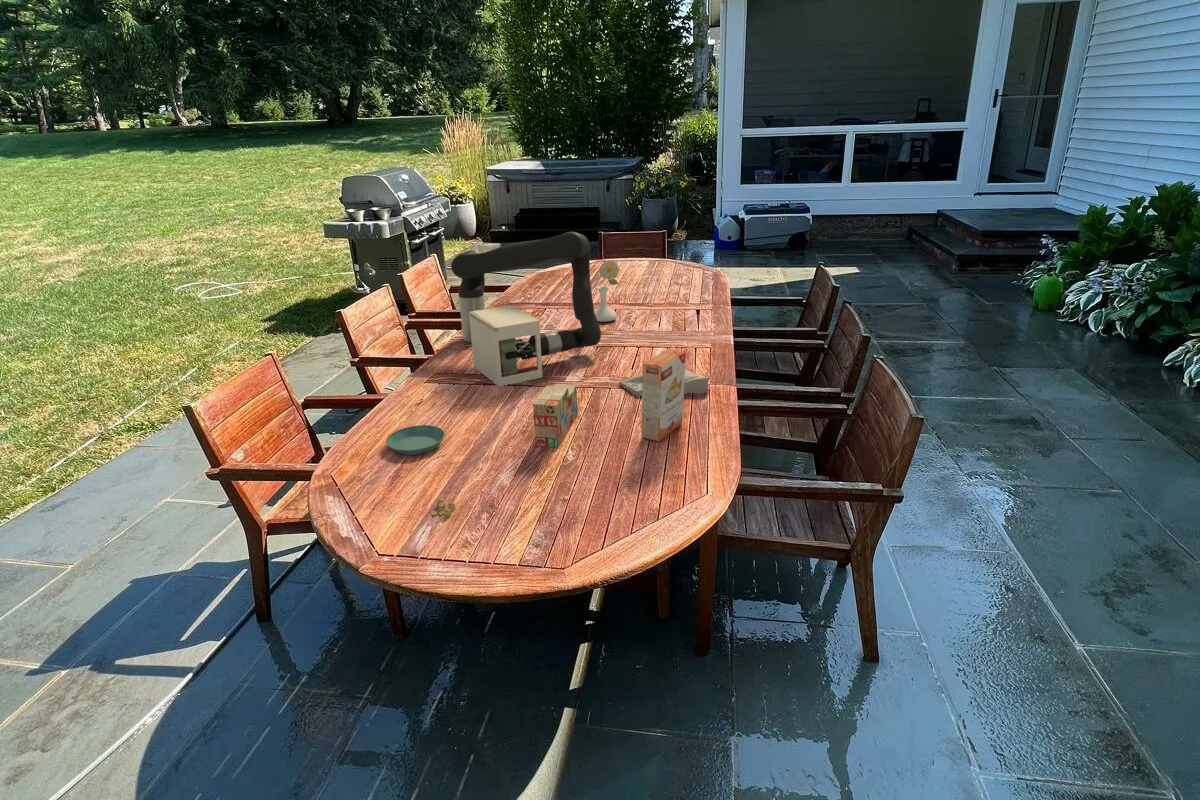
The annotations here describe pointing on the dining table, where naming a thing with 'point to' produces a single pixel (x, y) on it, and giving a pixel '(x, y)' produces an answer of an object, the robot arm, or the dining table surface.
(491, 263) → the robot arm
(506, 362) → the sage block
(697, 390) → the ramp
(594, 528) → the dining table surface
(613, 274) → the flower in vase
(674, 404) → the cracker box
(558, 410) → the stack of blocks
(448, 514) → the dice set
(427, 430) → the saucer
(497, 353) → the cubby
